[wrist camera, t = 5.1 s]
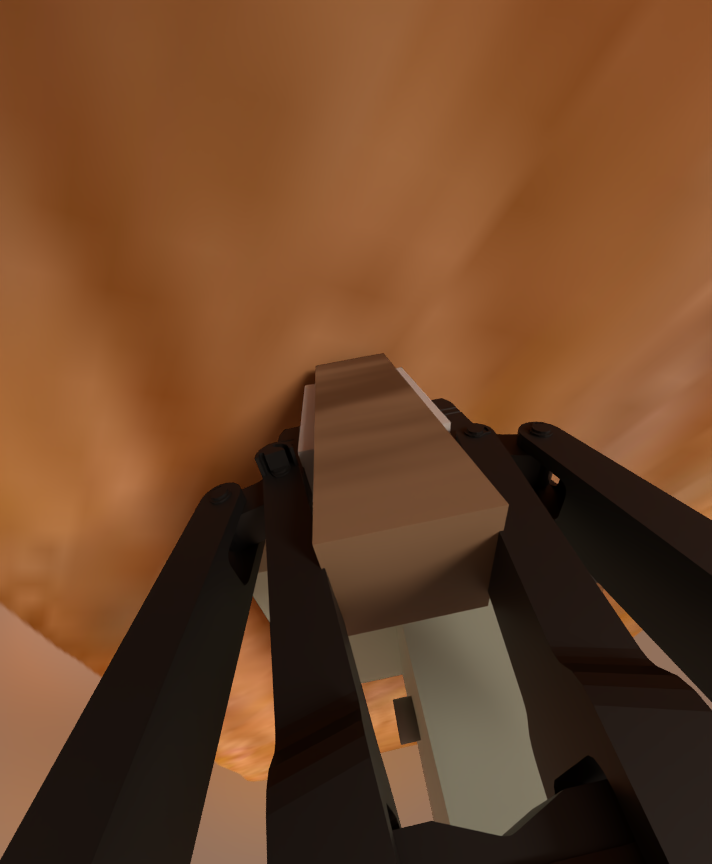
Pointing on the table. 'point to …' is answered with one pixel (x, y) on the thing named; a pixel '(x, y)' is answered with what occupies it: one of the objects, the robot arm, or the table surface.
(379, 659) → the plinth shelf
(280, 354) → the table surface
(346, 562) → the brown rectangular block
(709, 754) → the robot arm
